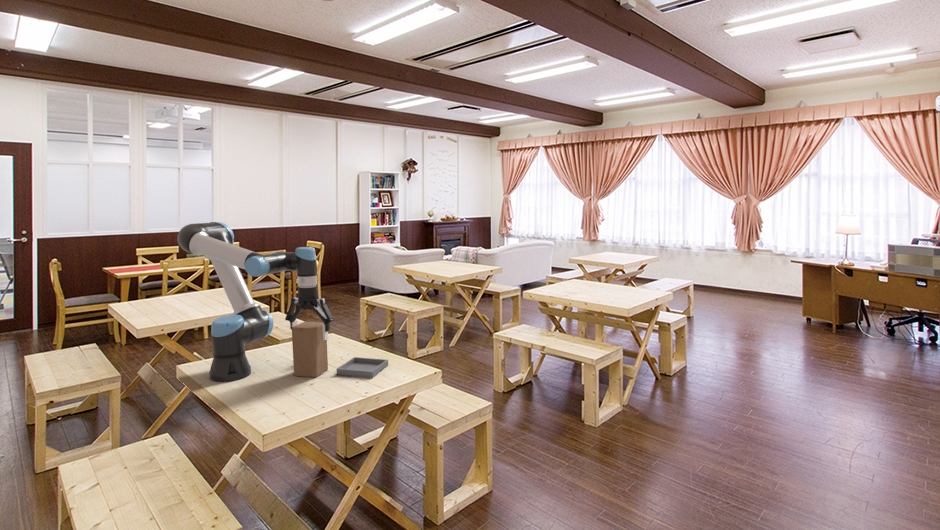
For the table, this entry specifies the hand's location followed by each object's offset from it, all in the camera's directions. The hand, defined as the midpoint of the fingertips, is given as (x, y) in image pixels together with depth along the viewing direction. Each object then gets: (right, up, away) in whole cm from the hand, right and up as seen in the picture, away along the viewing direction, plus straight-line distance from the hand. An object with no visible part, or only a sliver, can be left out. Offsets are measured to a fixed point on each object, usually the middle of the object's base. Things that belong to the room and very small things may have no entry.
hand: (310, 338), depth 207 cm
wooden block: (0, -14, +2) cm, 15 cm away
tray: (+20, -14, +5) cm, 25 cm away
